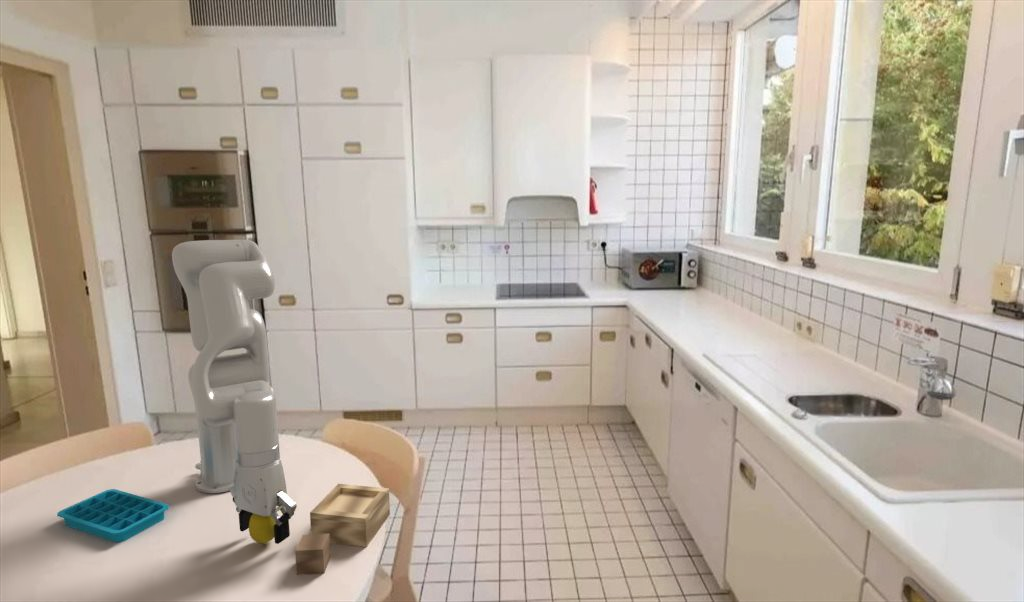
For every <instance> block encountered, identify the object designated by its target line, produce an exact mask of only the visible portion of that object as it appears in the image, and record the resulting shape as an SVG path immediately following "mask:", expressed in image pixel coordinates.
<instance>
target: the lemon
mask: <svg viewBox="0 0 1024 602" xmlns="http://www.w3.org/2000/svg"><path fill="white" fill-rule="evenodd" d="M275 524H276V523H275V521H274V520H273V518H272V516H269V517H264V516H260V515H257V514H254V513H253V514H252V516H251V518H250V522H249V528H248V532H249V535H250V538H251V539H252V540H253V541H254V542H255V543H259V544H263V545H265V544H268V543H269V542H270V541H272V540H273V539H275V538H274V525H275Z"/></svg>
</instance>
